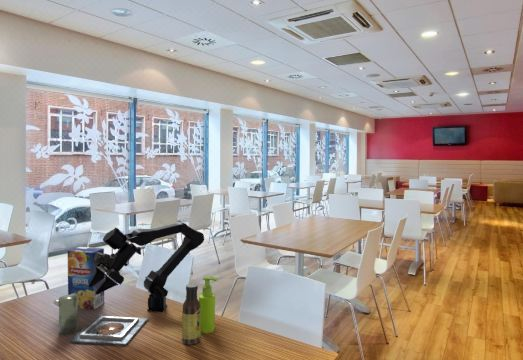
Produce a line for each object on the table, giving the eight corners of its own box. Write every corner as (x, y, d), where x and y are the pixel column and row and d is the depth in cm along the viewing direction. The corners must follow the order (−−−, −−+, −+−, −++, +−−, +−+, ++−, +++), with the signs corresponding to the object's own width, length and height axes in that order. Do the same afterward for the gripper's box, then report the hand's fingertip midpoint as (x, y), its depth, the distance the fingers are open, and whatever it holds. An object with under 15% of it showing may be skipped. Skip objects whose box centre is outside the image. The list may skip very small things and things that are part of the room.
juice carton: (104, 302, 162) (104, 248, 161) (93, 309, 155) (93, 252, 153) (79, 300, 165) (79, 246, 163) (68, 307, 157) (67, 250, 156)
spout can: (75, 325, 141) (75, 293, 140) (79, 331, 136) (79, 298, 135) (52, 331, 136) (51, 297, 135) (55, 338, 131) (55, 303, 130)
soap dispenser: (214, 334, 136) (215, 280, 135) (196, 332, 138) (196, 279, 136) (219, 327, 142) (220, 275, 141) (202, 325, 144) (202, 274, 142)
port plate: (147, 320, 147) (147, 315, 147) (125, 346, 127) (125, 341, 127) (98, 317, 148) (98, 313, 148) (69, 342, 128) (68, 337, 128)
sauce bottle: (200, 344, 129) (201, 288, 128) (182, 346, 128) (182, 289, 126) (199, 335, 135) (200, 281, 134) (181, 337, 134) (182, 282, 132)
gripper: (100, 239, 150) (70, 271, 144) (115, 249, 136) (82, 285, 130) (119, 255, 156) (91, 287, 150) (136, 267, 141) (106, 302, 135)
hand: (92, 289), depth 141 cm, fingers open, 9 cm apart
